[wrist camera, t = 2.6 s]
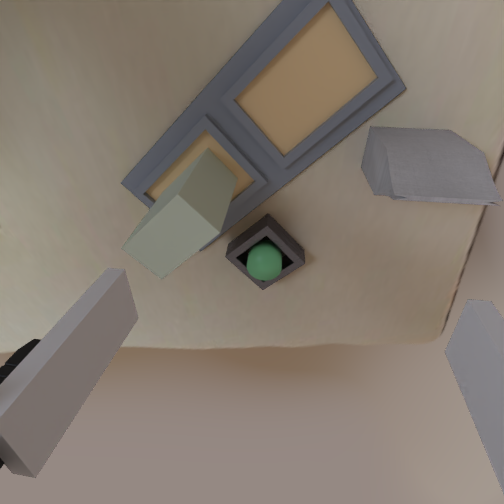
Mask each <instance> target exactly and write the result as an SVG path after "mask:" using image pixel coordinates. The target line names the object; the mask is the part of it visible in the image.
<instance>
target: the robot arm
mask: <svg viewBox="0 0 504 504" xmlns="http://www.w3.org/2000/svg"><path fill="white" fill-rule="evenodd" d="M137 320H138V314H137V311H136V307H135V304H134V300H133V297H132V293H131V289H130V286H129V282H128V279H127V275H126V272H125V269H116V268H107V269H106V270H105V271H104V273H103V274H102V275H101V276H100V277H99V278H98V279H97V280H96V281H95V282H94V283H93V284H92V286H91V287H90V288H89V289H88V290H87V291H86V292H85V293H84V294H83V295H82V296H81V297H80V299H79V300H78V301H77V302H76V303H75V304H74V305H73V306H72V307H71V308H70V309H69V311H68V312H67V313H66V314H65V315H64V316H63V317H62V318H61V319H60V320H59V321H58V322H57V324H56V325H55V326H54V327H53V328H52V329H51V330H50V331H49V332H48V333H47V334H46V335H45V337H44V338H43V339H42V340H39V339H33V340H32V341H30V342H29V343H27V344H26V345H24V346H23V347H21V348H20V349H18V350H17V351H16V352H15V353H14V354H13V355H12V356H11V357H10V358H9V359H8V360H7V361H6V363H5V365H4V366H2V367H1V368H0V468H1V467H2V466H3V464H5V465H6V466H7V467H8V469H9V470H10V471H11V472H12V473H13V474H18V475H23V476H28V477H33V478H36V477H37V475H38V473H39V472H40V471H41V469H42V467H43V466H44V464H45V463H46V461H47V460H48V458H49V457H50V455H51V453H52V452H53V450H54V449H55V447H56V446H57V444H58V442H59V441H60V439H61V438H62V436H63V435H64V433H65V432H66V430H67V429H68V427H69V425H70V424H71V422H72V421H73V419H74V417H75V416H76V414H77V413H78V411H79V410H80V408H81V406H82V405H83V404H84V402H85V401H86V399H87V397H88V396H89V394H90V392H91V391H92V390H93V388H94V386H95V385H96V383H97V382H98V380H99V379H100V377H101V375H102V374H103V372H104V371H105V369H106V368H107V366H108V365H109V363H110V361H111V360H112V359H113V357H114V355H115V354H116V352H117V351H118V349H119V348H120V346H121V345H122V343H123V341H124V340H125V338H126V337H127V335H128V334H129V332H130V331H131V329H132V327H133V326H134V324H135V323H136V321H137ZM445 354H446V356H447V358H448V361H449V363H450V366H451V368H452V371H453V373H454V375H455V378H456V380H457V383H458V385H459V387H460V390H461V392H462V394H463V397H464V399H465V402H466V404H467V407H468V409H469V412H470V414H471V416H472V419H473V421H474V424H475V426H476V428H477V431H478V433H479V436H480V438H481V441H482V443H483V445H484V448H485V450H486V453H487V455H488V457H489V460H490V462H491V465H492V467H493V469H494V472H495V474H496V477H497V479H498V481H499V484H500V486H501V489H502V491H503V494H504V319H503V317H502V316H501V314H500V313H499V312H498V310H497V309H496V307H495V306H494V304H493V303H492V301H483V300H472V299H468V300H467V302H466V305H465V307H464V309H463V311H462V314H461V316H460V319H459V320H458V323H457V325H456V327H455V330H454V332H453V334H452V336H451V338H450V341H449V343H448V345H447V348H446V350H445Z"/></svg>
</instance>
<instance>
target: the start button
mask: <svg viewBox="0 0 504 504" xmlns="http://www.w3.org/2000/svg"><path fill="white" fill-rule="evenodd" d="M281 269H282V250H281V249H280V248H279V247H278V246H277V245H276V244H275V243H274V242H273V241H270V240H260V241H258V242H257V243H255V244H254V245H253V246H251V247H250V250H249V255H248V261H247V270H248V272H249V274H250V275H251V276H252V277H254V278H256V279H258V280H263V281H267V280H272V279H274V278H276V277H277V276H278V275H279V274H280V272H281Z"/></svg>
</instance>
